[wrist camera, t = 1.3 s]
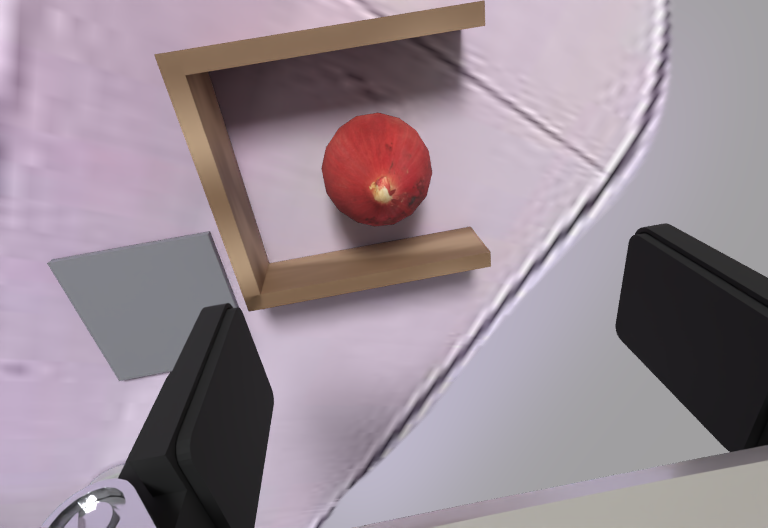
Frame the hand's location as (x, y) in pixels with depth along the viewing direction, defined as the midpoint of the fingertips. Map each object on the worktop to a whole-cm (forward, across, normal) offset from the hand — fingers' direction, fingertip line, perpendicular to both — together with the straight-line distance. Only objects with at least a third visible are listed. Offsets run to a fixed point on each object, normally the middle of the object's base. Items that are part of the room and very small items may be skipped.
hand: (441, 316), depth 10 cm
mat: (+17, +16, +8) cm, 25 cm away
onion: (+18, 0, 0) cm, 18 cm away
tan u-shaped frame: (+18, +1, 0) cm, 18 cm away
